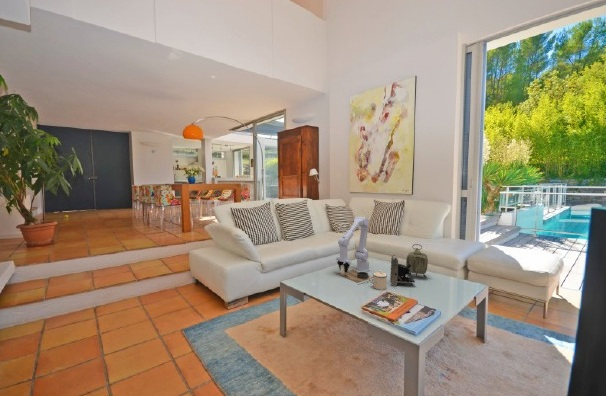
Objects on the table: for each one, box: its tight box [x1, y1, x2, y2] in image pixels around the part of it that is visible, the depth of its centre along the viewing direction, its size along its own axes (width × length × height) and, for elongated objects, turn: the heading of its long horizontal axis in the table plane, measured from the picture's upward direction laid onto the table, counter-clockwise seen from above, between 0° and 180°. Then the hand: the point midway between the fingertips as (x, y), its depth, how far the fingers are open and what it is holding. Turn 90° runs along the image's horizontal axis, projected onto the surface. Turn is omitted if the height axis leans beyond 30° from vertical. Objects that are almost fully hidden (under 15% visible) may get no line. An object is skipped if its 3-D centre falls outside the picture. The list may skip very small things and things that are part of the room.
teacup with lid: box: [368, 269, 388, 291], centre depth 189 cm, size 12×9×12 cm
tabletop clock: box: [405, 243, 429, 279], centre depth 207 cm, size 14×9×25 cm, turn 62°
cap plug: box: [340, 265, 347, 276], centre depth 210 cm, size 5×5×7 cm
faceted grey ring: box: [357, 271, 369, 279], centre depth 205 cm, size 8×8×2 cm
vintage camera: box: [389, 254, 416, 287], centre depth 193 cm, size 10×15×20 cm, turn 78°
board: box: [336, 269, 373, 286], centre depth 207 cm, size 18×22×2 cm
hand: (343, 271), depth 210 cm, fingers closed on cap plug, 5 cm apart
